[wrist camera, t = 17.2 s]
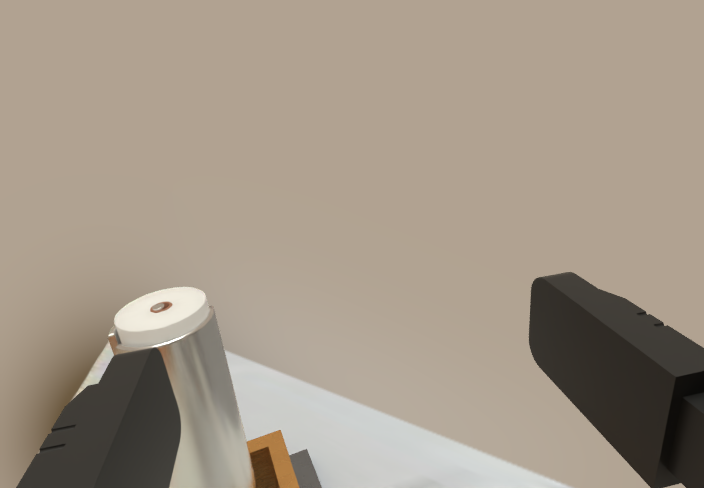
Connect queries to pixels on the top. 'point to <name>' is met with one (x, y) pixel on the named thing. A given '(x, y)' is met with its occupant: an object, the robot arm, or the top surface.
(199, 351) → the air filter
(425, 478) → the top surface
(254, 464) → the dock
